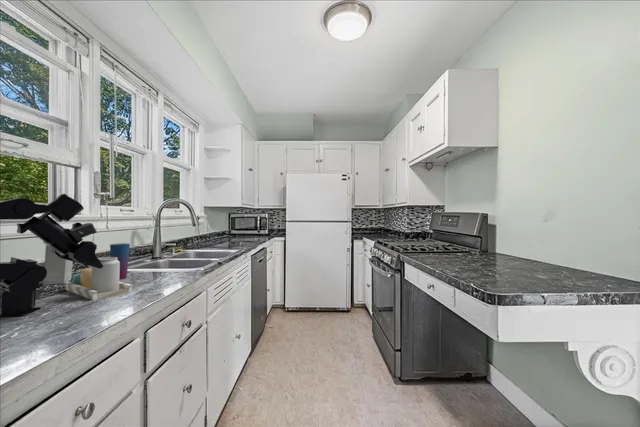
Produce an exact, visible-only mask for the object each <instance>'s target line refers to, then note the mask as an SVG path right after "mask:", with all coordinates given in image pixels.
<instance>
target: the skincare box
mask: <svg viewBox="0 0 640 427" xmlns="http://www.w3.org/2000/svg"><path fill="white" fill-rule="evenodd" d="M51 249H52V247H51V246H50V245H47V244H45V254H44V255H45V256H44V265H43V266H44V267H45V268H46V270H47V275H46V277H45V279H44V280H43V281H42V287H45V286H49V285H60V284H61V285H62V284H64V285H65V284H66V282H70V281H71V280H72V278H73V273H72V272H73V263H74V262H73V261H69V260H66V259H62V258H59V257H56V256H55V255H54V254H52V253H51ZM60 255H61V254H60Z"/></svg>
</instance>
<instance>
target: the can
mask: <svg viewBox="0 0 640 427" xmlns="http://www.w3.org/2000/svg"><path fill="white" fill-rule="evenodd" d="M98 259H99V260H100V262H101V263H102V265H103V267H102V268H101V269H100V268H96V267H93V266H91V268H92V281H91V289H92V290H95V291H97V294H100V293H105V292H111V291H116V290H119V282H120V280H119V275H120V262H119V261H118V260H117V257H111V256H106V257H105V256H104V257H98Z"/></svg>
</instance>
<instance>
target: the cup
mask: <svg viewBox="0 0 640 427" xmlns="http://www.w3.org/2000/svg"><path fill="white" fill-rule="evenodd" d="M130 248H131V243H128V242H126V243H124V242H123V243H121V242H119V243H110V244H109V249H110V252H109V254H110V256H109V257H117V260H118V261H119V262H120V275H119V281H120V280H125V279H127V278H128V269H129V268H128V267H129V256H130Z"/></svg>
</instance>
